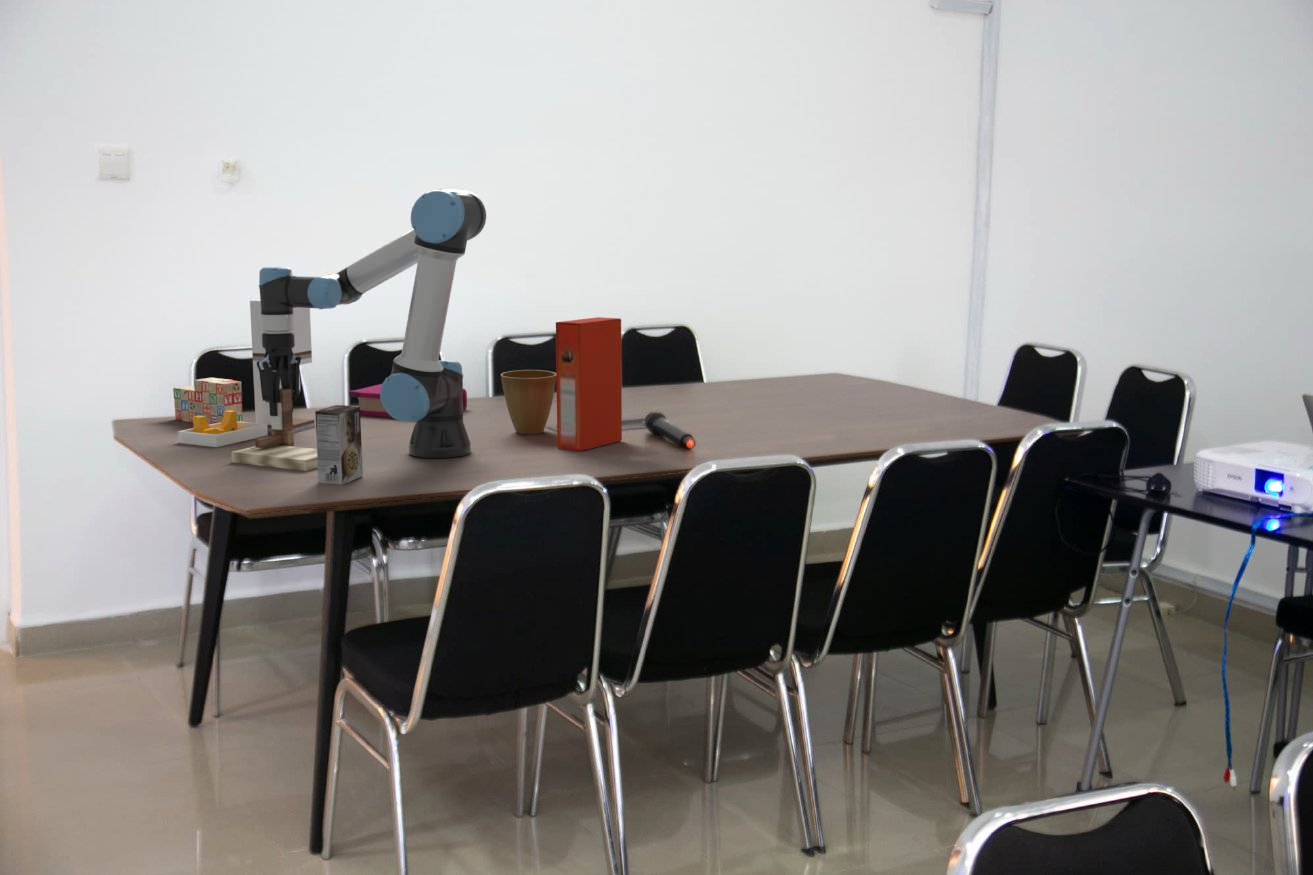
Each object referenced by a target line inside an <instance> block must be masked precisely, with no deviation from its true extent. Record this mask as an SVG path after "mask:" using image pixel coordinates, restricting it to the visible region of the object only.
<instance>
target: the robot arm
mask: <svg viewBox="0 0 1313 875" xmlns="http://www.w3.org/2000/svg"><path fill="white" fill-rule="evenodd" d="M486 220H487V210H486V208H485V204H484V203H483V201H482V200H481V198H480V197H479V196H477V195H476V194H475V193H473V192H472V191H471V192H470V191H468V190H464V189H445V188H439V189H438V188H437V189H434V190H431V191H427V192H424V193H423V194H422V195H420V196H419V197H418V198H417V199H416V201H415V202H414V204H413V206H412V208H411V212H410V224H411V228H412V229H410V230H409V231H407V232H405V233H403V234H401V235H400V236H398V237H397V238H395V239H393V240H391V241H389V242H388V243H386V244H385V245H382V246H381V247H378V248H377V249H376V250H374V251H372V252H370V253H369V254H367V255H365V256H363V257H362V258H360V259H358V260H357V261H355V262H353V263H352V264H350V265H348V266H347V267H344V268H343V269H341V270H340V271H338V272H336V273H333V274H326V275H325V274H324V275H314V276H313V275H312V276H307V275H305V276H302V275H301V276H299V275H293V273H292V272H293V271H292V269H291V267H287V266H267V267H266V266H264V267H262V268H261V269H260V270H259V273H258V274H259V276H258V278H259V282H258V284H259V285H258V289H259V300H260V302H261V324H262V330H263V331H265V333H263V334H262V347H263V348H265V350H266V352H265V356H264V359H263V360H262V361H257V367H258V369H259V374H260V383H261V392H262V400H263V401H265V402H269V408H270V416H271V427H272V429H277V430H282V408H281V403H278V402H279V388H280V380H281V386H282V388H284V389H291V395H292V414H293V413H294V401H296V400H297V398H298V397H299V396H300V393H299V373H300V366H301V365H300V362H301V357H300V356H295V355H293V351H292V348H293V347H294V346H295V340H294V333H293V332H292V330H294V316H293V308H297V307H299V308H310V309H318V310H325V309H327V310H329V309H334V308H336V307H337V306H341V305H342V306H343V305H350V304H352V303H355V302H357V301H359V300H360V299H361V297H362V296H363V295H364V294H366V292H369V291H370V290H372V289H374V288H376V287H377V286H380V285H381V284H383V283H384V282H387V281H388V280H390V279H392V278H393V277H396V276H397V275H399V274H401V273H403V272H404V271H406V270H407V269H410V268H411V267H413V266H416V270H415V274H414V276H415V277H414V280H413V287H412V293H411V298H410V303H409V310H408V315H407V321H406V326H405V333H404V339H403V342H402V343H403V344H402V349H401V353H400V354H399V355H397V356H396V357H394V359H393V362H392V368H391V373H390V375H389V376H388V377H386V378H385V379H384V381H383V382H382V383H381V384H382V386H381V390H380V398H381V402H382V405H383V407H384V408H385V409H386V411H387V413H388V414H389V415H391V416H392V417H391V418H393V419H395V420H397V421H400V422H404V423H406V422H407V423H408V422H415V423H414V426H413V429H412V433H411V437H410V439H409V443H408V455H410V456H413V457H418V458H424V459H425V458H426V459H428V458H429V459H449V458H456V457H461V456H467V455H470V453H471V452H472V449H471V448H472V444H471V440H470V438H469V434H468V432H467V428H466V425H465V423H464V411H463V389H464V385H463V384H464V383H463V380H464V374H463V366H462V364H461V363H460V361H457V360H440V359H439V358H440V352H441V346H442V342H443V336H444V331H445V327H446V326H445V325H446V320H447V315H448V309H449V305H450V304H449V303H450V299H451V293H452V289H453V288H452V287H453V284H454V282H453V281H454V277H455V272H456V266H457V261H458V260H459V259H460V258H461V257H463V256H464V255H465V254H466V249H467V245H468V244H467V243H468V241H470V240H472V239H474V238H476V237H478V235H479V234H480V233H482V231H483V230H484V227H485V225H486V223H487V222H486Z"/></svg>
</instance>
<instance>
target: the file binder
mask: <svg viewBox="0 0 1313 875" xmlns="http://www.w3.org/2000/svg"><path fill="white" fill-rule="evenodd" d="M555 351H556V352H555V359H556V360H555V362H556V364H555V366H556V367H555V368H556V369H555V370H556V372H555V373H556V433H557V434H556V435H557V436H556V439H557V440H556V442H557V444H556V445H557V448H558V449H561V450H568V451H574V452H575V451H577V452H582V451H586V450H590V449H594V448H598V447H602V446H607V445H610V444H614V443H618V442H621V441H622V439H623V437H622V436H623V435H622V434H623V433H622V432H623V431H622V430H623V427H622V426H623V423H622V420H623V418H622V416H623V414H622V413H623V412H622V408H623V407H622V402H623V400H622V399H623V398H622V397H623V396H622V389H623V388H622V380H623V379H622V319H621V318H617V317H616V318H615V317H600V316H599V317H598V316H597V317H596V316H595V317H589V318H582V319H579V318H578V319H572V320H564V321H557V322H555Z"/></svg>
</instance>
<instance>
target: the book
mask: <svg viewBox="0 0 1313 875" xmlns="http://www.w3.org/2000/svg"><path fill="white" fill-rule="evenodd" d="M382 384H383V383H380V384H375V385H372V386H367V387H363V388H359V389H352V390H349V392H348V396H349V398H357V400H358V407H360V416H371V417H384V418H393V417H392V416H391V415H389V414H388V413H387V411H386V409H385V408H384V407H383V405H382V402H381V398H380V390H381V386H382ZM467 407H468V392H467V390H466V389H465V388H463V412H464V411H466V410H467Z"/></svg>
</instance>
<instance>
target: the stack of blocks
mask: <svg viewBox="0 0 1313 875" xmlns="http://www.w3.org/2000/svg"><path fill="white" fill-rule="evenodd" d="M172 389H173V390H172V391H173V400H174V413H175V415H174V416H175V420H176V421H183V422H189V423H193V416H206V420H207V423H208V424H209V425H211V424H216V423H221V422H222V420H223V417H224V411H228V410H232V411H237V421H240V422H244V420H243V419H244V418H243V415H244V414H243V404H242V403H243V392H242V381H238V380H233V379H228V378H226V379H225V378H219V377H218V378H217V377H207V378H199V379H194V380H193V385H185V386H178V387H173V388H172Z"/></svg>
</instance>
